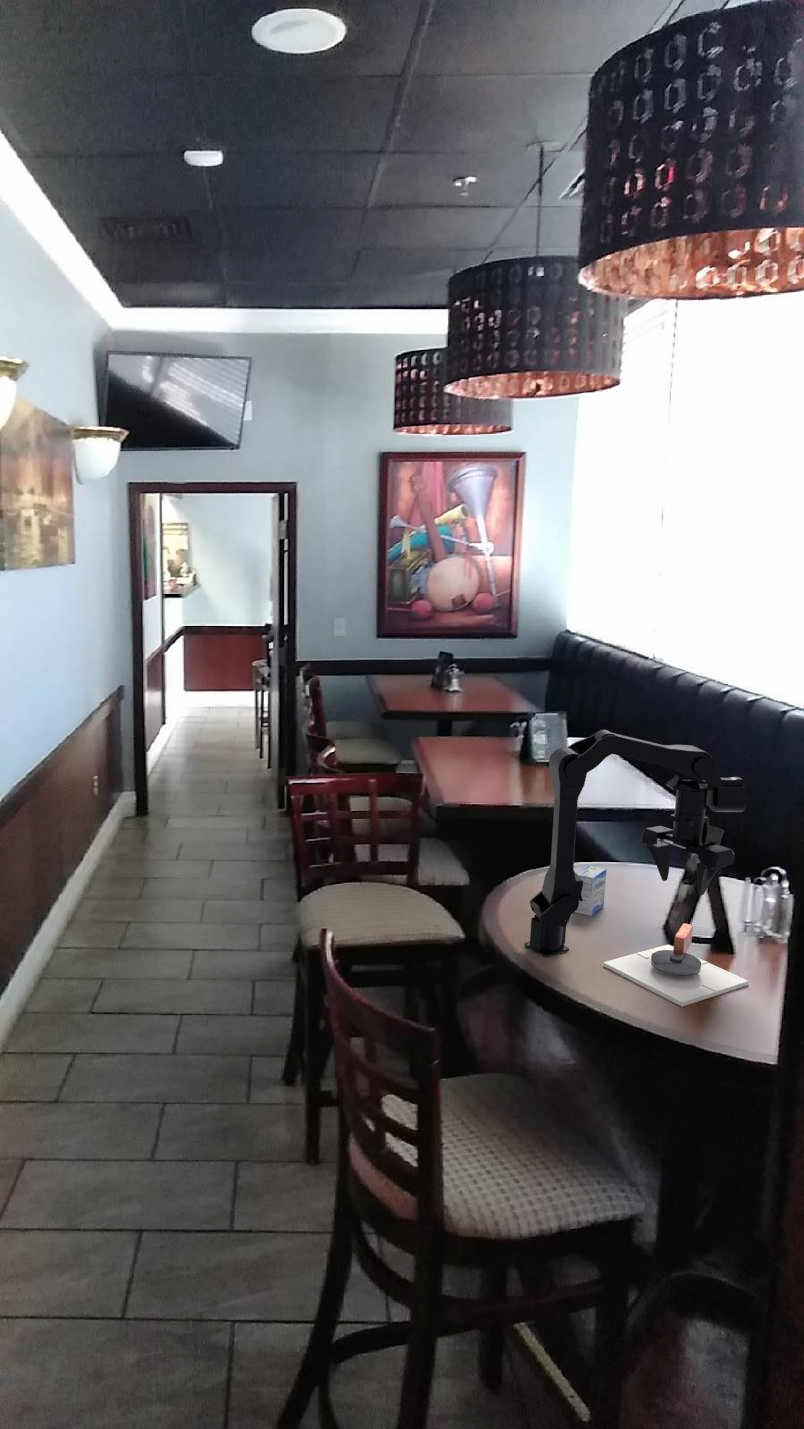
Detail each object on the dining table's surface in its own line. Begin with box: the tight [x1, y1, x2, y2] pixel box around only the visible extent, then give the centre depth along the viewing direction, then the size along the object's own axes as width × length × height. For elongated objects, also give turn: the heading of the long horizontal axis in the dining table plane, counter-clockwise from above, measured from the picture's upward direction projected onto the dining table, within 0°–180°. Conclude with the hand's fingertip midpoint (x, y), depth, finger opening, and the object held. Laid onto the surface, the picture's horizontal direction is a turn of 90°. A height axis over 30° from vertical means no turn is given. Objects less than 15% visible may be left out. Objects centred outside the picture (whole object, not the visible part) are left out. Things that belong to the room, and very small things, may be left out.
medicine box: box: [574, 865, 607, 917], centre depth 218 cm, size 8×4×9 cm, turn 148°
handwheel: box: [651, 923, 701, 976], centre depth 188 cm, size 9×14×5 cm, turn 153°
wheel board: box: [603, 944, 749, 1008], centre depth 186 cm, size 18×19×2 cm
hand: (682, 887), depth 198 cm, fingers open, 9 cm apart
